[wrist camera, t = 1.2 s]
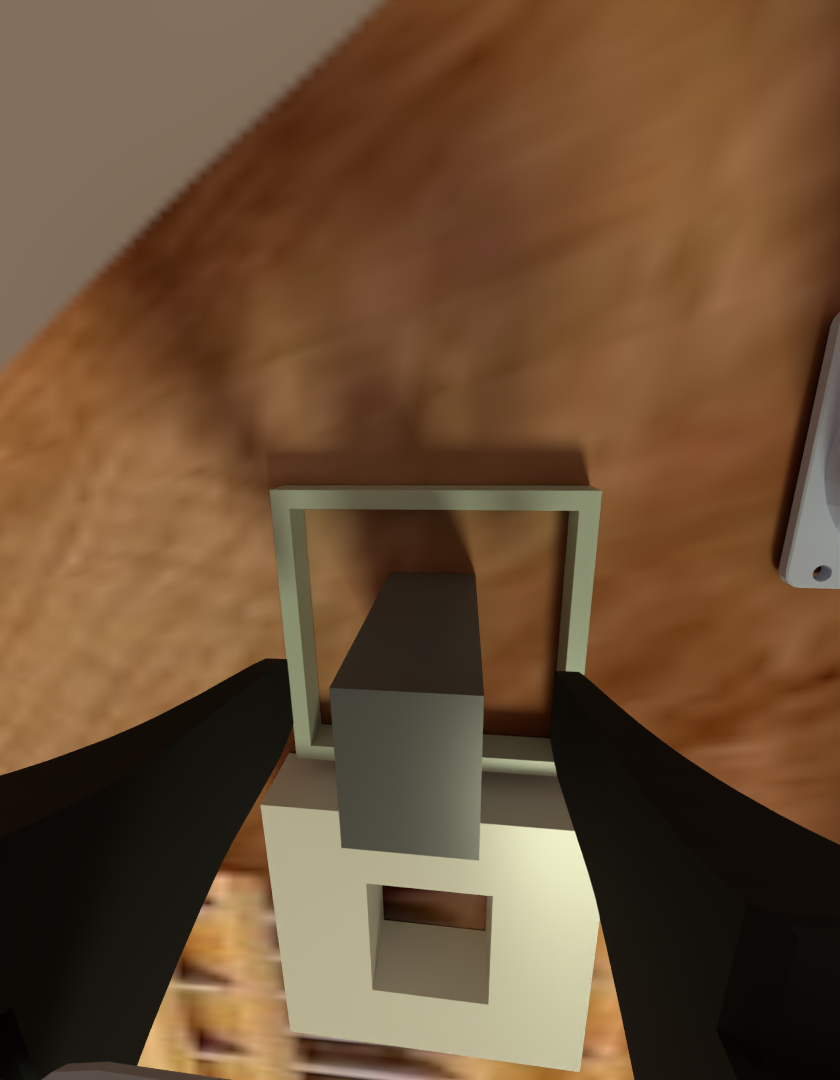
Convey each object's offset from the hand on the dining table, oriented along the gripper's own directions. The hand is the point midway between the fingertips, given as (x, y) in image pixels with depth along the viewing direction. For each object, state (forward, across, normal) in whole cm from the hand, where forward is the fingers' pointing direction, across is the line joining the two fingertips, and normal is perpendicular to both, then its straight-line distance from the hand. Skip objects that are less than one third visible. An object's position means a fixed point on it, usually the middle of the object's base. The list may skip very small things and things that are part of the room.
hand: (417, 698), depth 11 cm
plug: (+4, 0, 0) cm, 4 cm away
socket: (+4, 0, +12) cm, 13 cm away
